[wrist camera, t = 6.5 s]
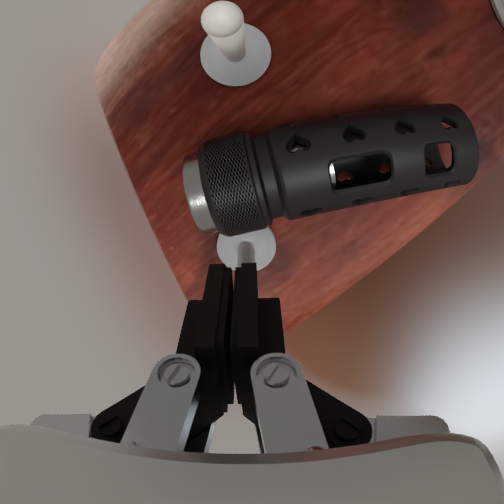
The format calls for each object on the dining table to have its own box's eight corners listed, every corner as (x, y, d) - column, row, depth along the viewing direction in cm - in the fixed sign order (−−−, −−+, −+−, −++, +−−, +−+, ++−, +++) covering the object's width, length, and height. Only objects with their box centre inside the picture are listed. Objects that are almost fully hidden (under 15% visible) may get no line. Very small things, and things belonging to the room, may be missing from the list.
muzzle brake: (432, 169, 34) (480, 200, 25) (215, 214, 37) (205, 261, 28) (426, 96, 29) (479, 107, 20) (191, 138, 32) (169, 160, 23)
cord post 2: (274, 214, 37) (296, 335, 20) (275, 264, 40) (291, 393, 23) (215, 216, 37) (190, 338, 20) (220, 266, 40) (205, 396, 24)
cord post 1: (268, 24, 26) (295, -48, 9) (271, 84, 29) (302, 83, 12) (201, 28, 26) (143, -34, 9) (204, 88, 29) (148, 94, 12)
